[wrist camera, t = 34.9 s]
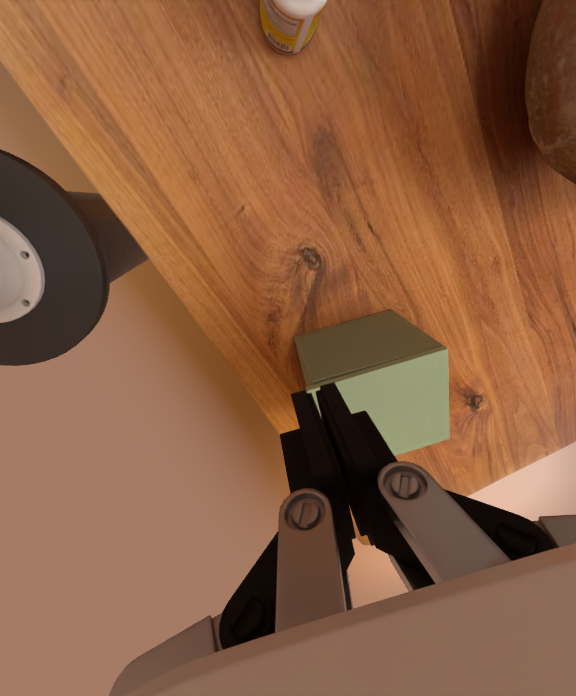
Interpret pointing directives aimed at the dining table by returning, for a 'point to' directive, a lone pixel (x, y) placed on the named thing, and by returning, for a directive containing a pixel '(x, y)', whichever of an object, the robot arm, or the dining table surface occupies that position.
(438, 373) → the lid
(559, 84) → the bowl
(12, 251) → the robot arm
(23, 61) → the dining table surface
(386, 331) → the box
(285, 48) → the supplement bottle
